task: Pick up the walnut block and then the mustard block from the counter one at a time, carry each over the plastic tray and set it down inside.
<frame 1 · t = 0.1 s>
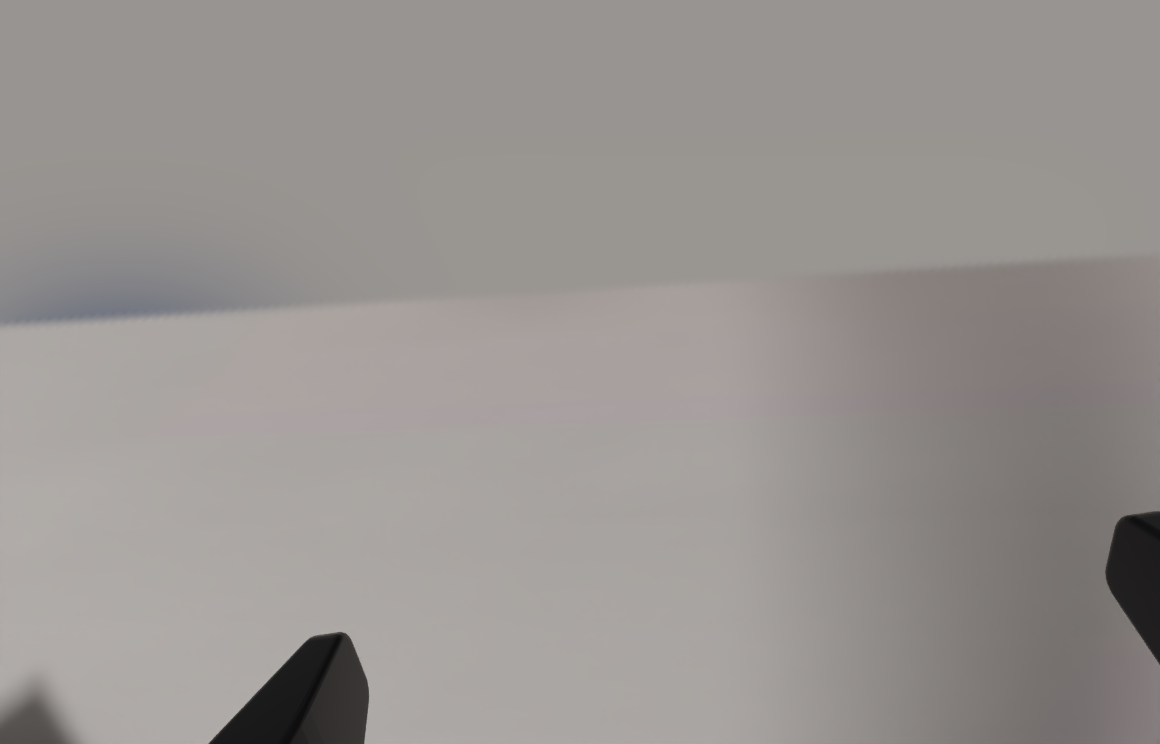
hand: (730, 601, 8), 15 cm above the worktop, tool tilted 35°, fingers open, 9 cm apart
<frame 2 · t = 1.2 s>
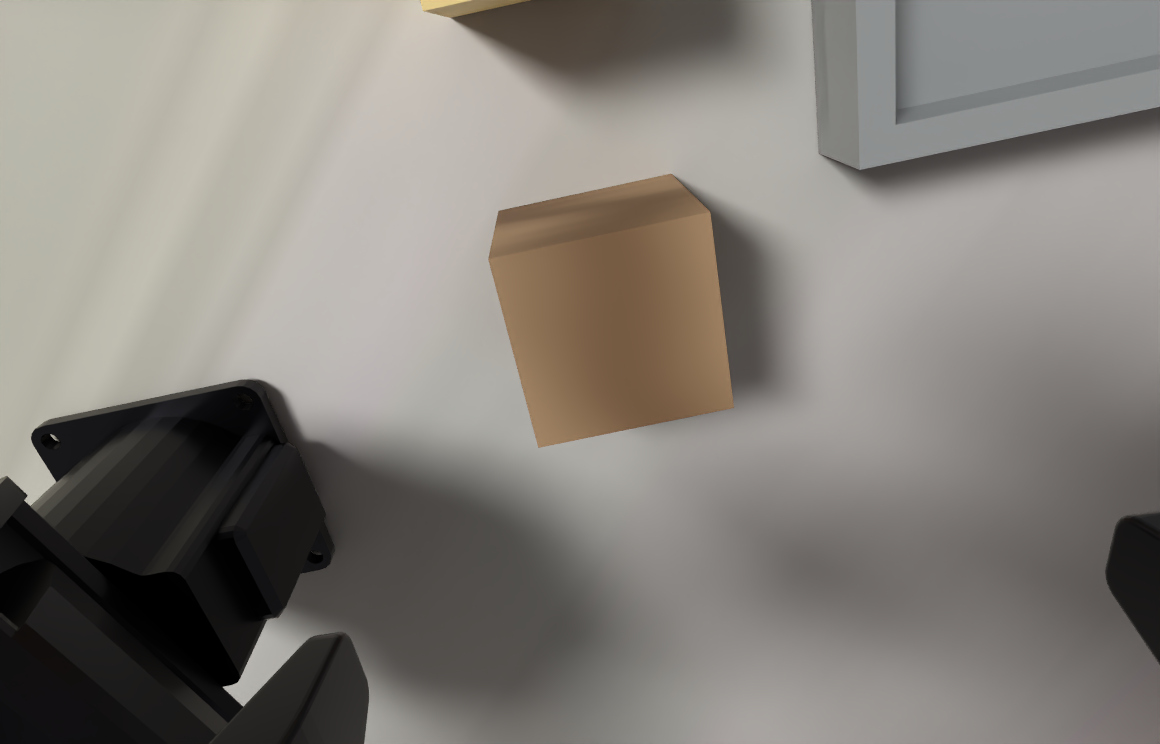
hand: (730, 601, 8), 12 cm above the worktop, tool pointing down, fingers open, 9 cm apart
walnut block: (600, 274, 19), on the worktop
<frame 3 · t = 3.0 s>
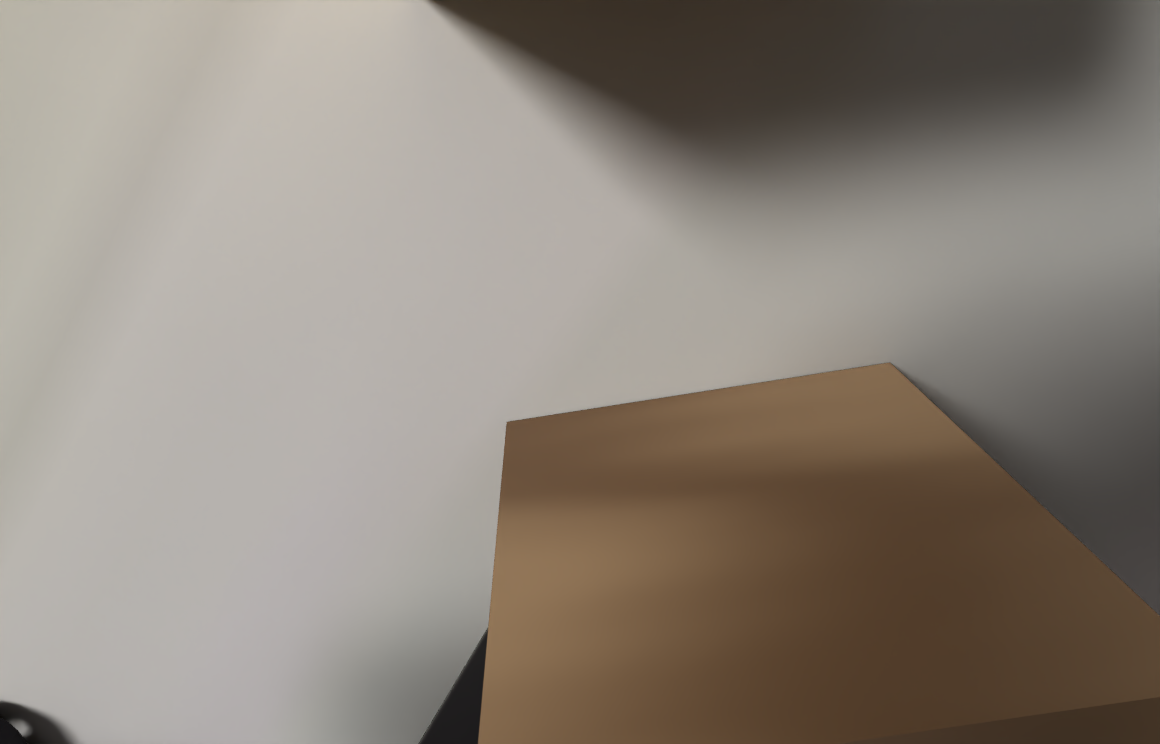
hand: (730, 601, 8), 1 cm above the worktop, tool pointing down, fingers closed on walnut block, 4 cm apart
walnut block: (710, 543, 9), on the worktop, touching gripper
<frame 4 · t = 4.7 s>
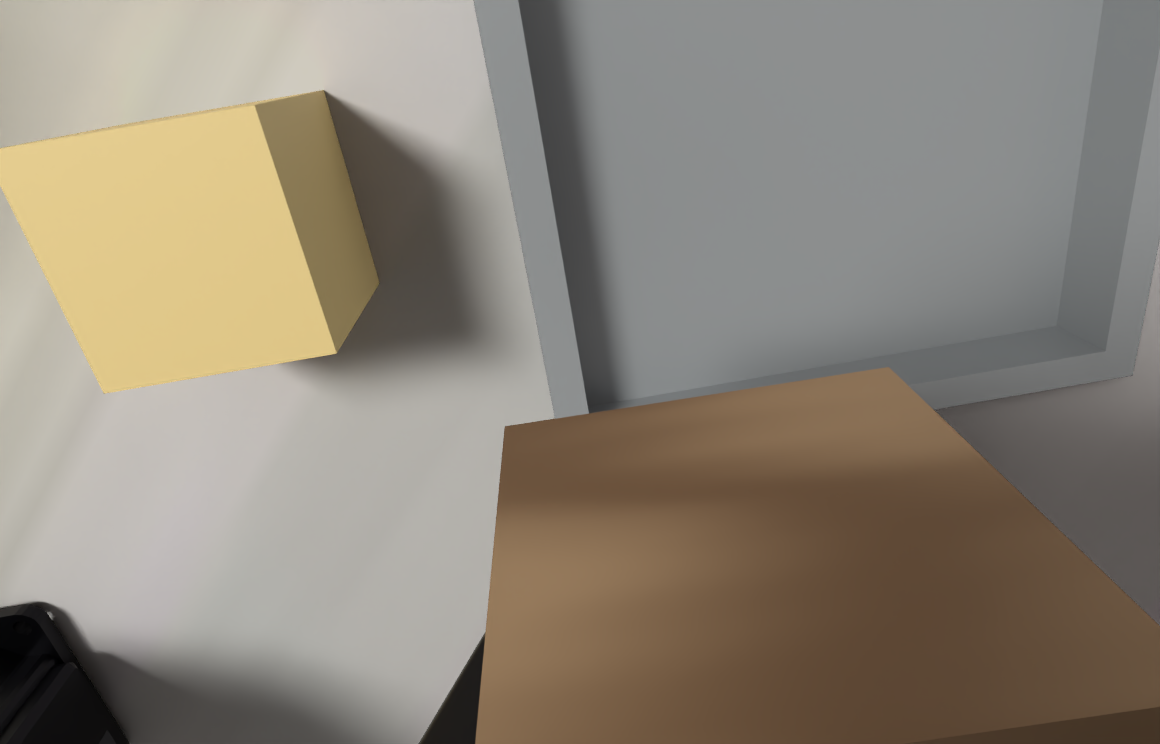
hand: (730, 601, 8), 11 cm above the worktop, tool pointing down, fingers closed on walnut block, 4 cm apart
mustard block: (259, 207, 17), on the worktop
tray: (805, 68, 16), on the worktop
walnut block: (709, 548, 9), point 10 cm above the worktop, touching gripper
when the fingers open (3 cm above the worktop, at t = 6.4 s): walnut block drops 2 cm, resting on tray.
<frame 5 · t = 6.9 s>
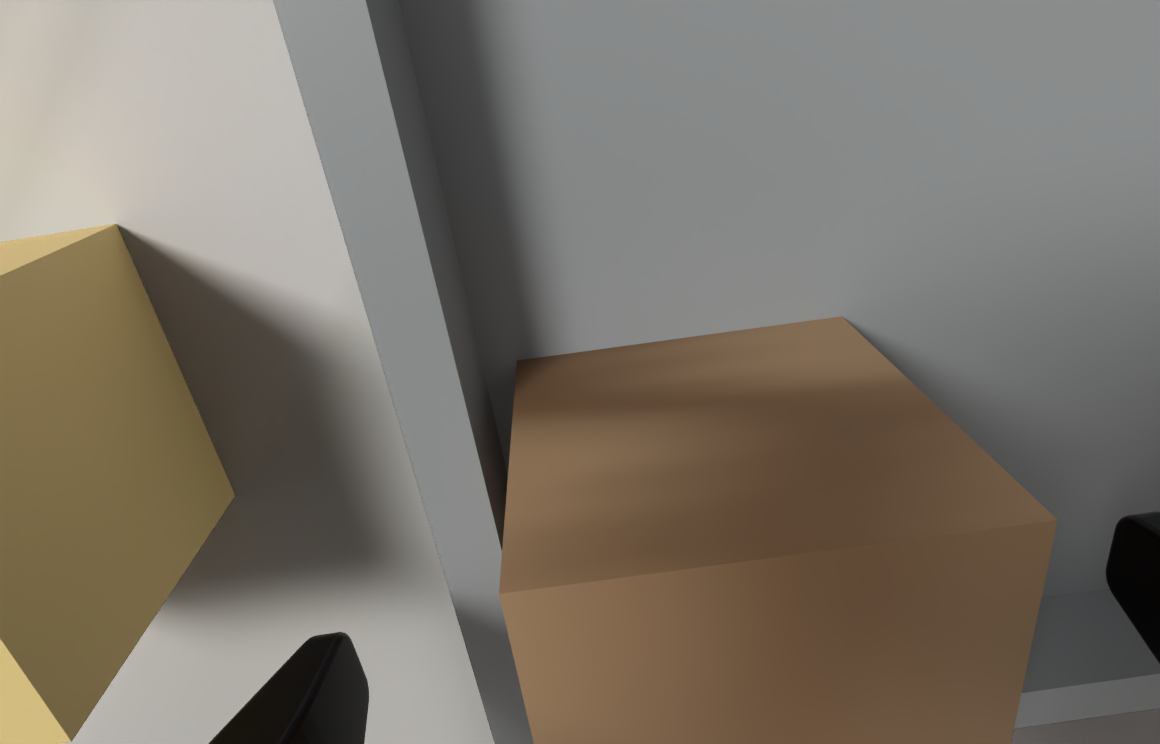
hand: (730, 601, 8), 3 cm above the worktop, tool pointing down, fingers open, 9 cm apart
mustard block: (37, 392, 11), on the worktop
tray: (908, 192, 10), on the worktop
walnut block: (688, 474, 11), point 1 cm above the worktop, touching tray
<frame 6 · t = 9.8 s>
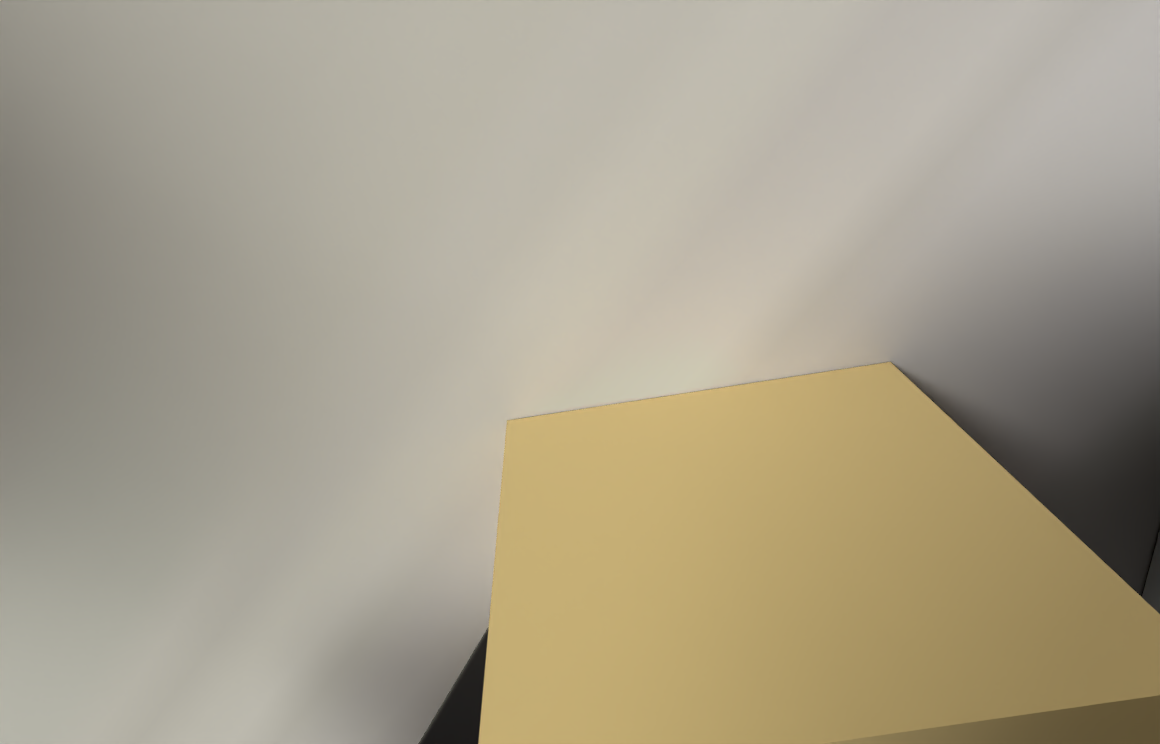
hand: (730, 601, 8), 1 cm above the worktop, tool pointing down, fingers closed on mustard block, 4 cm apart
mustard block: (710, 543, 9), on the worktop, touching gripper
when the fingers open (3 cm above the worktop, at t = 13.5 s): mustard block drops 2 cm, resting on tray.
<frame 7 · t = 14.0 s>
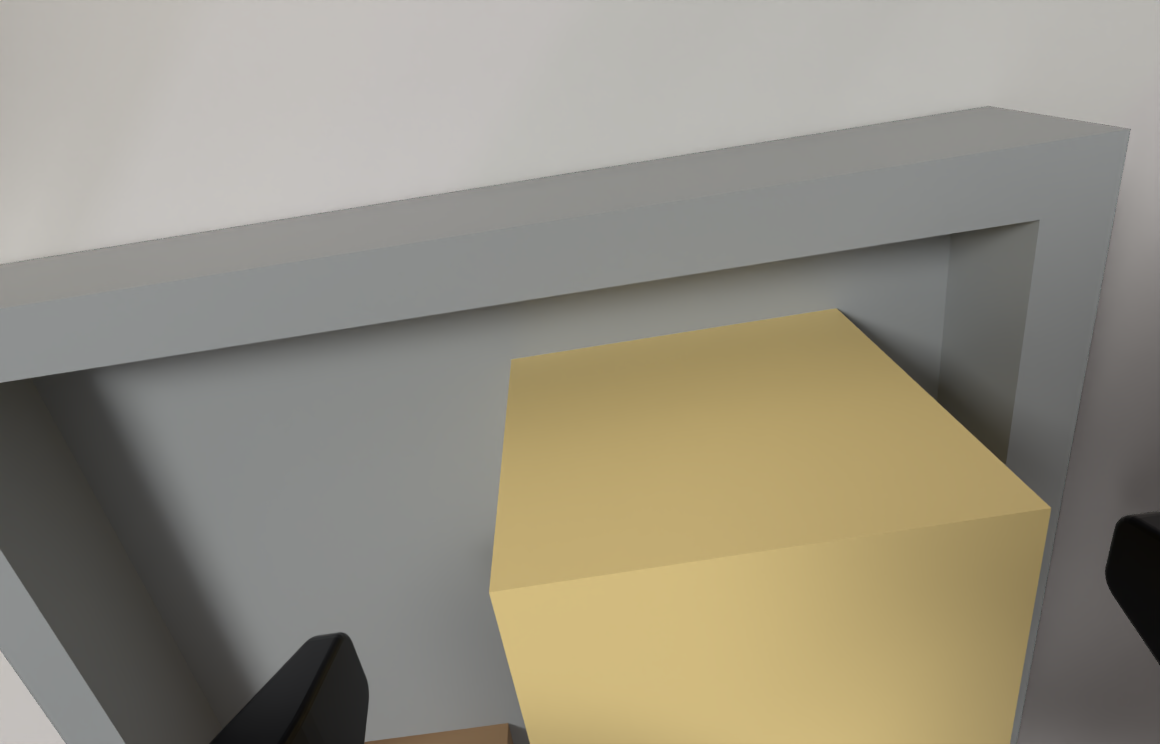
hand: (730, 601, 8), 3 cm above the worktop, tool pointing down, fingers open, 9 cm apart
mustard block: (686, 469, 11), point 1 cm above the worktop, touching tray
tray: (561, 625, 13), on the worktop
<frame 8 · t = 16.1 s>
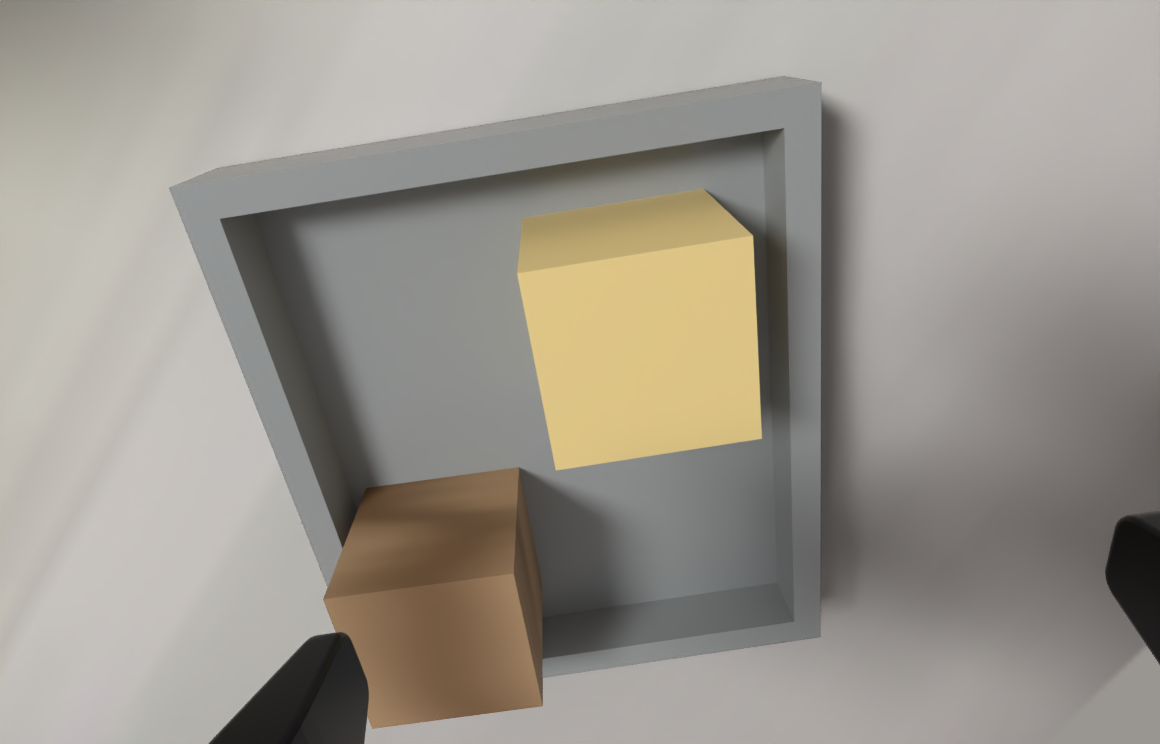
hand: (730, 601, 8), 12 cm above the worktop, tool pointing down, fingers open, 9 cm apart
mustard block: (623, 289, 18), point 1 cm above the worktop, touching tray
tray: (552, 407, 21), on the worktop
walnut block: (458, 538, 22), point 1 cm above the worktop, touching tray
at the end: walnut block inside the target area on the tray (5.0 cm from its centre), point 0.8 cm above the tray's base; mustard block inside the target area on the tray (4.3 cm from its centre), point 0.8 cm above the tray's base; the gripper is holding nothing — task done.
